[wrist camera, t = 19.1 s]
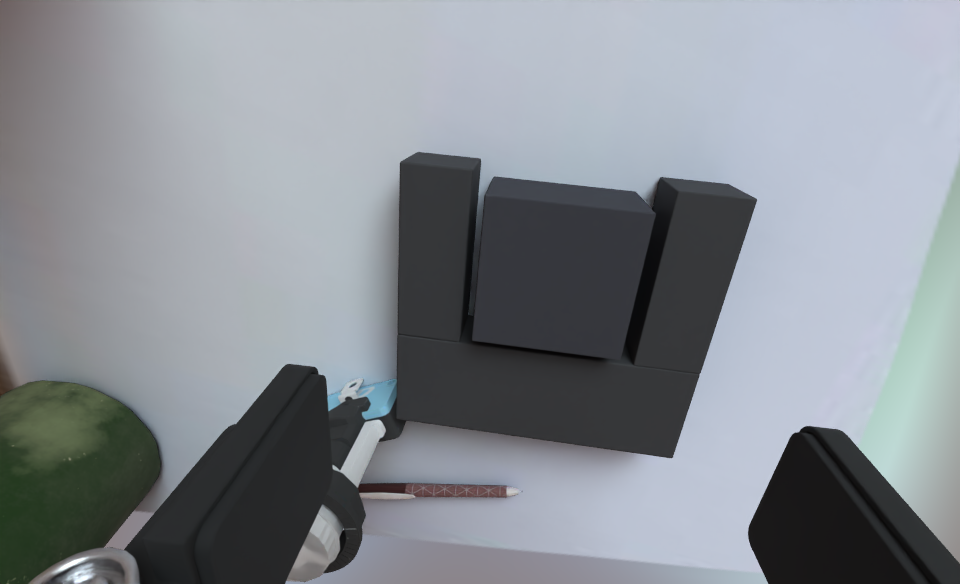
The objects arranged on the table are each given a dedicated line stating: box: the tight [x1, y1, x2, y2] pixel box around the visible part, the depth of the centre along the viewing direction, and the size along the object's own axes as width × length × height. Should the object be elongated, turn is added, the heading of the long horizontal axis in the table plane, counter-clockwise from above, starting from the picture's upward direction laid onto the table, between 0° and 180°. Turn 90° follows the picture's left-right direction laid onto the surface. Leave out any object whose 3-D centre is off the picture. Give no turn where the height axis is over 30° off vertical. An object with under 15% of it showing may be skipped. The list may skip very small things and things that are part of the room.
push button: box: [286, 378, 406, 582], centre depth 23 cm, size 7×5×10 cm
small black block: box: [472, 177, 656, 360], centre depth 21 cm, size 6×6×4 cm
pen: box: [358, 483, 522, 499], centre depth 29 cm, size 11×1×1 cm, turn 95°
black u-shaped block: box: [396, 152, 757, 458], centre depth 23 cm, size 13×14×3 cm
